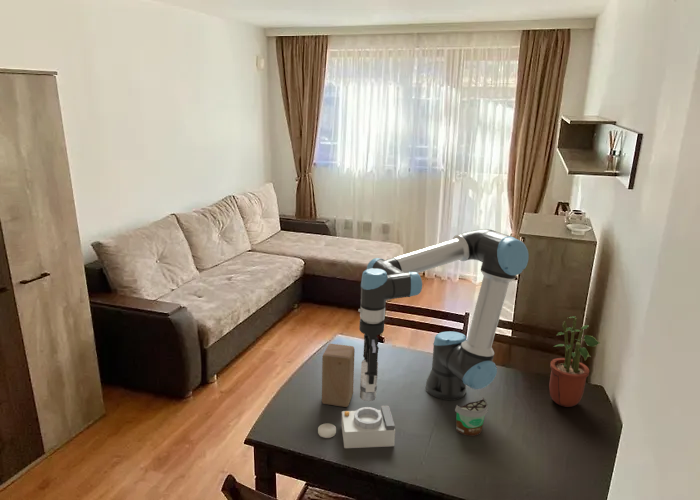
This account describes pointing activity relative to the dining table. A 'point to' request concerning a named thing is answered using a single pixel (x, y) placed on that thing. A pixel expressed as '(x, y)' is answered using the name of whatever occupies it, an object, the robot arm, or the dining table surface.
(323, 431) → the rear cap
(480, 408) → the food container
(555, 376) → the potted plant
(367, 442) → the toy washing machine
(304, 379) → the dining table surface
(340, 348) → the wooden block
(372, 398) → the grey tall rounded cylinder
